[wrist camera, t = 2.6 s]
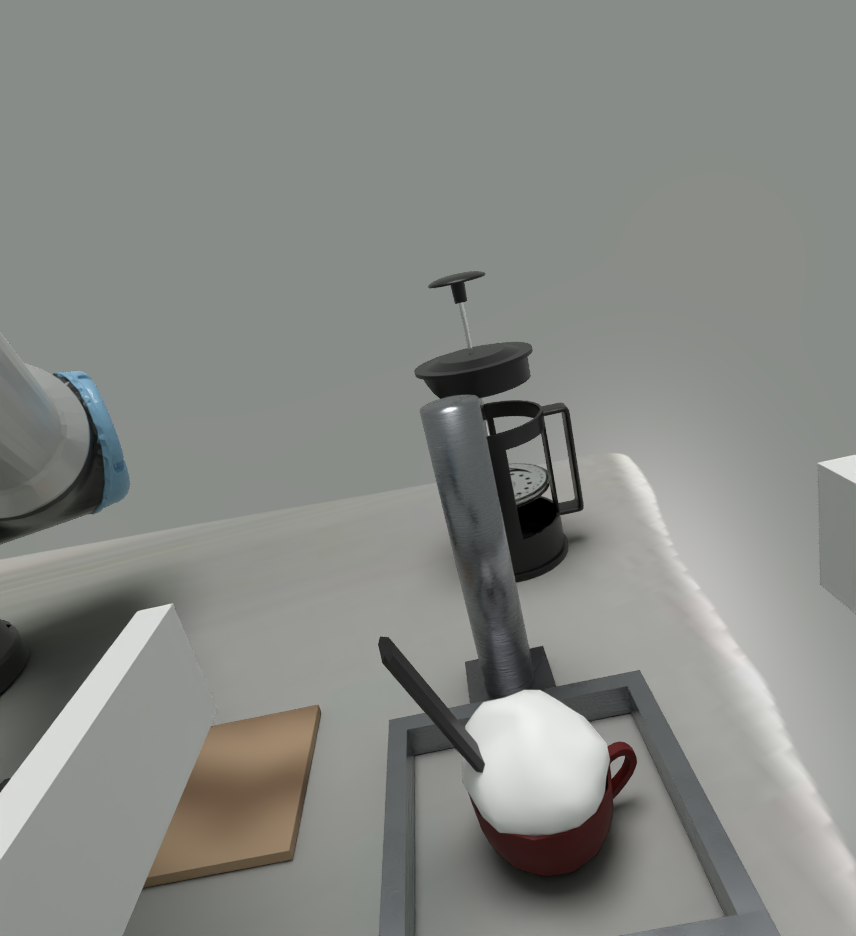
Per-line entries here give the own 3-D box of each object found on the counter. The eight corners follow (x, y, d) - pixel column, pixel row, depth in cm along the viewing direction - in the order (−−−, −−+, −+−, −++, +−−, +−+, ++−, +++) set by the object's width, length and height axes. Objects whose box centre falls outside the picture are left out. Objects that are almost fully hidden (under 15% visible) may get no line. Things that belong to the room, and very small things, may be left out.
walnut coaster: (169, 742, 40) (166, 735, 40) (321, 712, 40) (318, 704, 39) (95, 896, 31) (90, 888, 30) (292, 859, 30) (289, 850, 30)
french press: (451, 595, 49) (378, 297, 41) (447, 540, 58) (386, 286, 50) (602, 565, 48) (556, 255, 40) (574, 514, 57) (532, 252, 49)
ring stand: (398, 686, 40) (320, 421, 34) (615, 642, 39) (574, 363, 33) (388, 1042, 22) (219, 619, 16) (783, 974, 22) (762, 505, 16)
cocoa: (636, 781, 30) (617, 561, 27) (658, 910, 25) (637, 651, 21) (444, 781, 32) (401, 576, 29) (423, 900, 27) (366, 662, 23)
